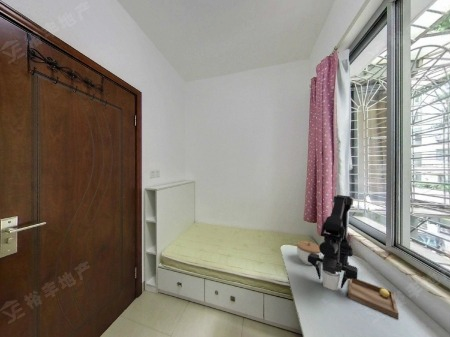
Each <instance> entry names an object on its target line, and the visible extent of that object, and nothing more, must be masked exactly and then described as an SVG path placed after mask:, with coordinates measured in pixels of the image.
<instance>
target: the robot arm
mask: <svg viewBox="0 0 450 337" xmlns="http://www.w3.org/2000/svg"><path fill="white" fill-rule="evenodd" d="M332 203H333V206H332V209H331V212H330V215H329V216H327V217H326V218H325V221H324V222H323V223H322V227H321V232H320V237H323V238H324V240H323V241H321V243H320V244H319V245H318V246H319V250H320V252H321V255H323V256H322V258H321V257H320V258H319V255H318V254H315V253H312V252H311V253H310V254H309V256H308V262H310V263H311V264H312V265H311V266H313V267H314V268H315V271H316V274H317V276H318V279H319V280H321V278H322V268H323V270H324V271H327V272H330V273H332V274H336V272H339V273H342V272H343V274H342V280H341V284H340V289H343V288H344V286H345V284H346V282H347V281H348V280H350V279H352V278H353V279H358V271H359V269H358V267H357V266H355V265H351V264H350V262H349V257H354V253H353V252H354V251H353V250H354V249H353V247H352V245H351V241H350V239H349V238H348V215H349V214H348V212H349V211H350V210H351V208H352V206H354V198H353V197H351V196H350V195H342V194H336V195H333V197H332ZM321 265H322V267H321Z"/></svg>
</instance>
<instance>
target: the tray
mask: <svg viewBox="0 0 450 337" xmlns="http://www.w3.org/2000/svg"><path fill="white" fill-rule="evenodd" d="M380 289H385V288H383V287H380V286H377V285H374V284H372V283H371V282H367V281H364V280H362V279H359V278H357V279H353V278H352V279H349V282H348V292H347V298H348V299H351V300H353V301H355V302H357V303H360V304H362V305H364V306H367V307H369V308H371V309H373V310H376V311H378V312H381V313H383V314H385V315H388V316H390V317H393V318H395V319H397V320H398V319H399V314H400V313H399V310H398V307H397V306H398V305H397V302H396V298H395V293H394V291H392V290H389V289H386V290H387V291H388V292H389V297H383V296H382V295H381V294H380Z"/></svg>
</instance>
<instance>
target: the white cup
mask: <svg viewBox="0 0 450 337" xmlns="http://www.w3.org/2000/svg"><path fill="white" fill-rule="evenodd" d="M340 275H341V274H340V272H336V274H332V273H330V272H327V271H324V270H323V267H321V277H322V286H323V287H324V288H326V289H329V290H332V291H337V290H338V288H339V285H340V284H339V282H340V279H341V278H340Z"/></svg>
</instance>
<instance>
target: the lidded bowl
mask: <svg viewBox="0 0 450 337" xmlns="http://www.w3.org/2000/svg"><path fill="white" fill-rule="evenodd" d="M319 246H320V245H318V244H316V243H313V242H311V241H305V240H303V241H302V240H300V241H297V242H296V252H297V256H298V258H299V259H300V260H301V262H302V263H304V264H305V265H309V266H313V265H312V264H311V263H310V262H308V256H309V254H310V253H311V252H312V253H315V254H318V255H319V258H321V255H322V253H321V252H320V250H319Z"/></svg>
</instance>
